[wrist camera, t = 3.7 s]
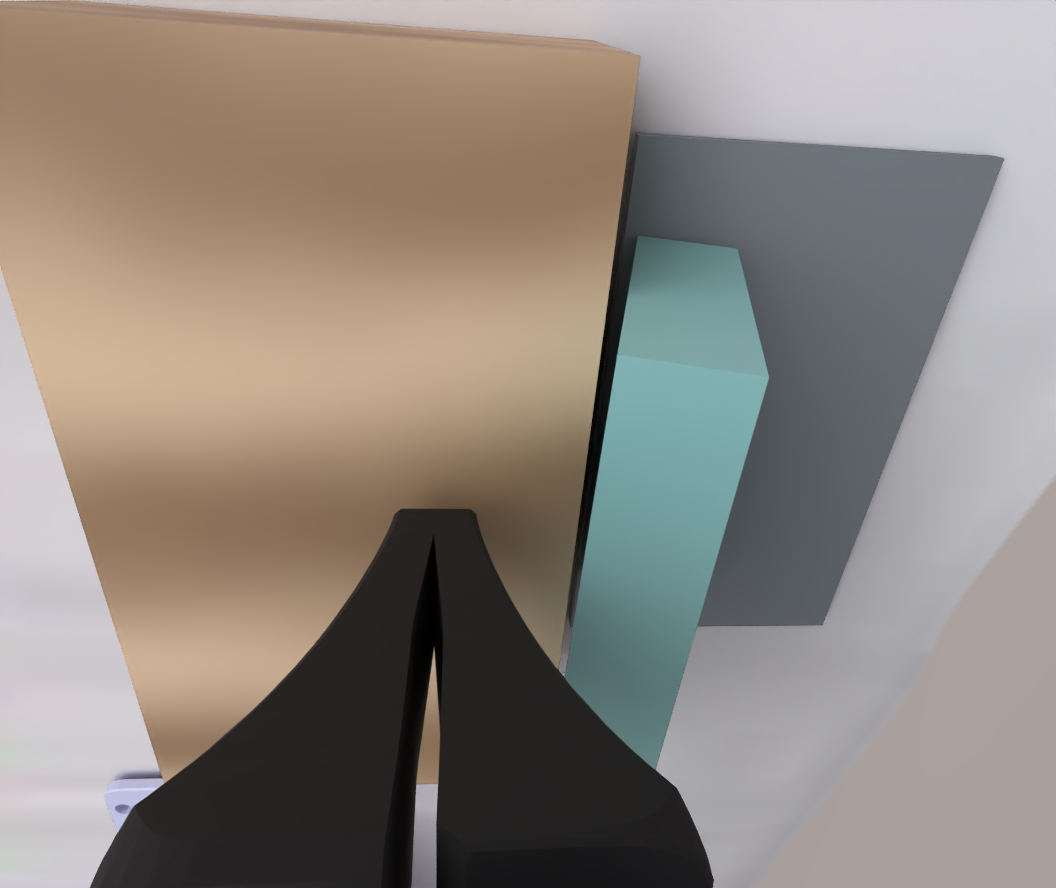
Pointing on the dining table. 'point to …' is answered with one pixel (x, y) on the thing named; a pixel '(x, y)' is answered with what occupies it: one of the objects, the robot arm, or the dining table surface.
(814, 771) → the dining table surface
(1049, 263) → the dining table surface
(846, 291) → the mat
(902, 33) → the dining table surface
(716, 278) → the teal rectangular block
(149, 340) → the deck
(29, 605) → the dining table surface
